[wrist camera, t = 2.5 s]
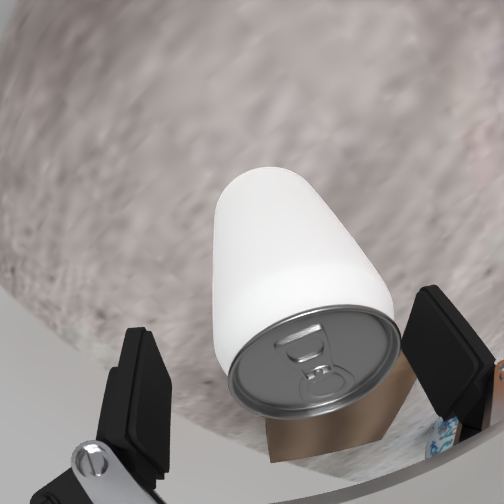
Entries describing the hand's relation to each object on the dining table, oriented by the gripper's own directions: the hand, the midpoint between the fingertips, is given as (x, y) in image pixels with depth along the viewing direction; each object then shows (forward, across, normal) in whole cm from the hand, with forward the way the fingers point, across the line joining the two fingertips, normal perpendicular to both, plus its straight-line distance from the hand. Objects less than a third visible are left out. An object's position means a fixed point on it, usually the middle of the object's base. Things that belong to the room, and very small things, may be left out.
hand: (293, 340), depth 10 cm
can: (+11, -1, 0) cm, 11 cm away
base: (+10, -7, +22) cm, 25 cm away
